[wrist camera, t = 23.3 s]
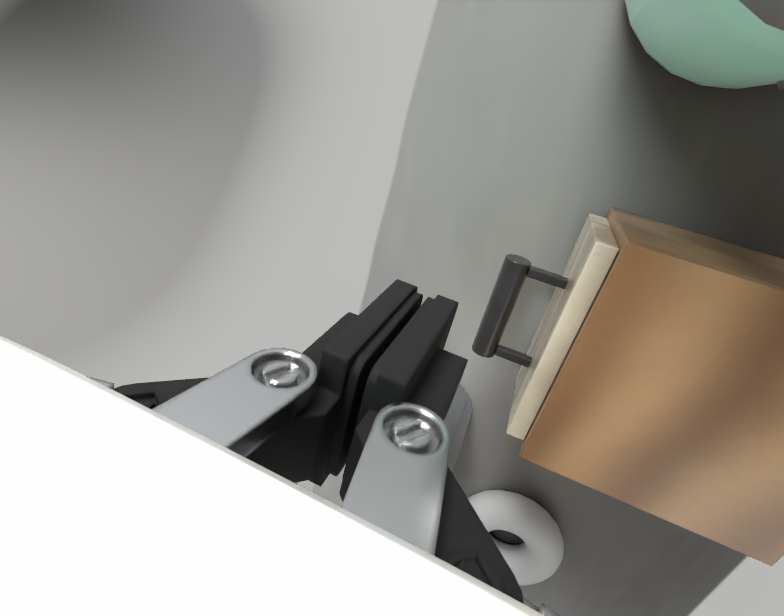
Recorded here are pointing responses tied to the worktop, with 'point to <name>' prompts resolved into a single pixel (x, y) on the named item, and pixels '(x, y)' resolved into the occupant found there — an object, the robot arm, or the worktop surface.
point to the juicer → (714, 39)
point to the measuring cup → (458, 423)
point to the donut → (522, 533)
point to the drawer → (546, 316)
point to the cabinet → (678, 388)
